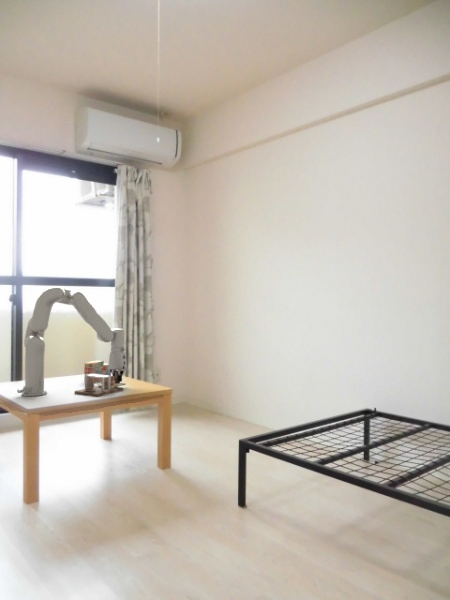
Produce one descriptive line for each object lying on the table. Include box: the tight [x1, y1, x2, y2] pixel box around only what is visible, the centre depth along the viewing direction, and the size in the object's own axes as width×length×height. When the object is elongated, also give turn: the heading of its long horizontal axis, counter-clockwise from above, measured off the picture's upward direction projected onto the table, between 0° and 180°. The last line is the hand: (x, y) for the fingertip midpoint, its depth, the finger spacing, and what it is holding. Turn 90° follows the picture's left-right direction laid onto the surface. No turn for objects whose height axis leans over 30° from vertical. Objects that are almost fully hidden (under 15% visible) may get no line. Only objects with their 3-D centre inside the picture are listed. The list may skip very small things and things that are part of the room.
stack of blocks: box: [83, 360, 112, 384], centre depth 300 cm, size 21×6×12 cm, turn 164°
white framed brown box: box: [97, 370, 127, 388], centre depth 271 cm, size 13×9×8 cm
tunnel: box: [84, 374, 112, 392], centre depth 260 cm, size 6×13×8 cm, turn 63°
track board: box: [74, 385, 124, 398], centre depth 262 cm, size 21×16×2 cm
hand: (117, 381), depth 275 cm, fingers closed on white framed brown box, 3 cm apart
